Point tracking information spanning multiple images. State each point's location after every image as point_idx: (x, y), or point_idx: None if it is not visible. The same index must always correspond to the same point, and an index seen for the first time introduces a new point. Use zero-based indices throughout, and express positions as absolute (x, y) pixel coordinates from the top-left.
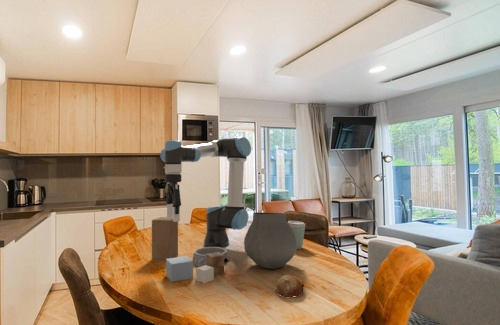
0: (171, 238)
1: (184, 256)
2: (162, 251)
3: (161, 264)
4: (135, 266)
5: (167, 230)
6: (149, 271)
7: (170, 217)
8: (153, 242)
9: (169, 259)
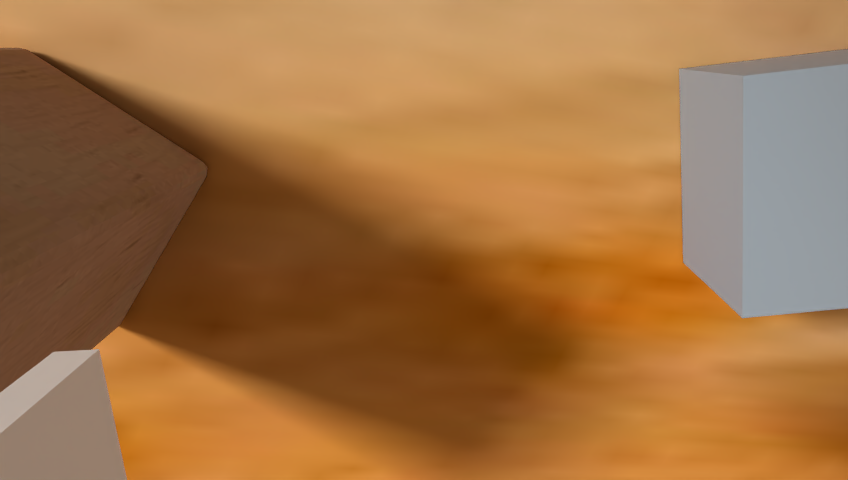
0: (56, 187)
1: (754, 104)
2: (138, 259)
3: (325, 259)
4: (301, 467)
5: (13, 295)
6: (500, 376)
7: (111, 418)
8: None
9: (790, 287)
